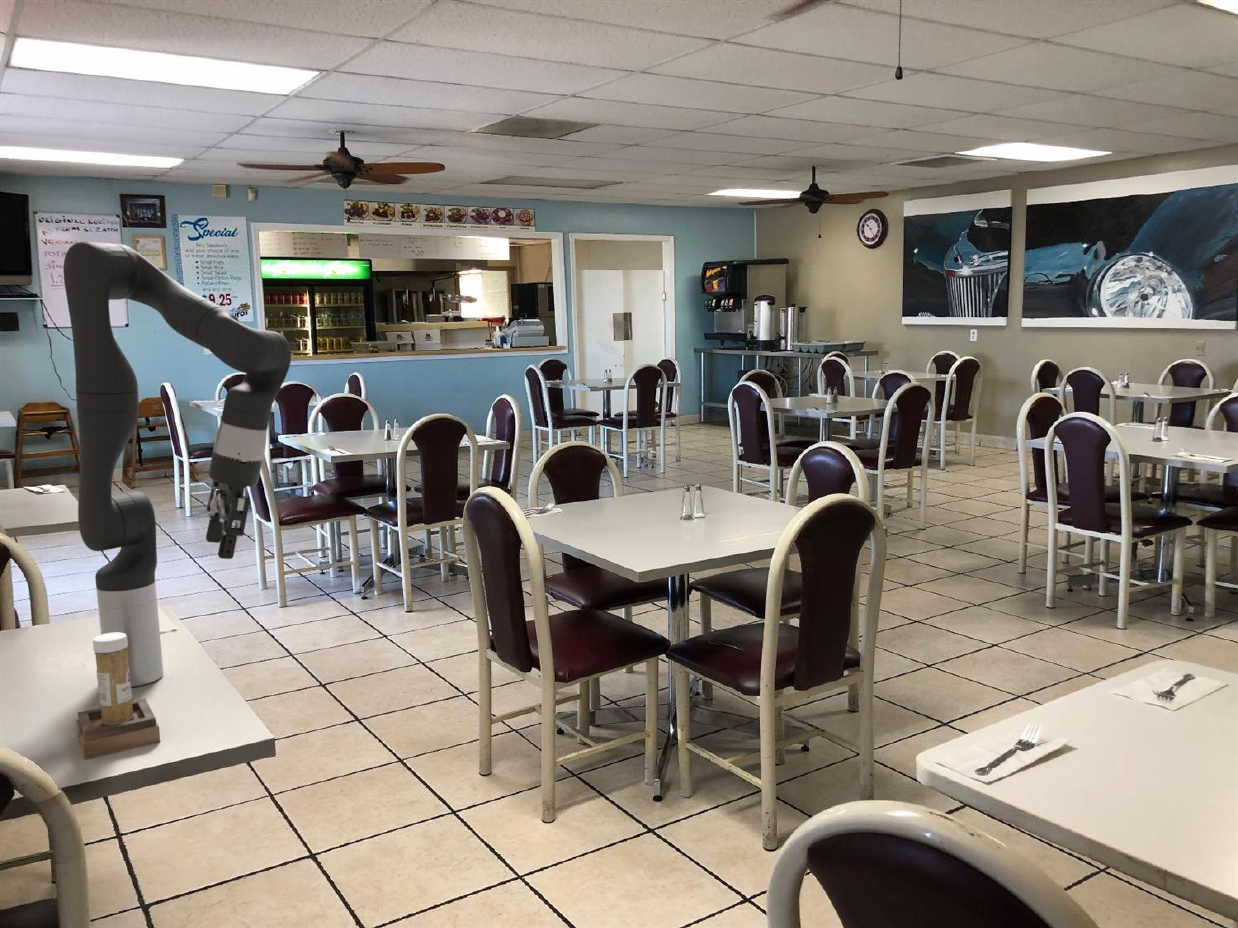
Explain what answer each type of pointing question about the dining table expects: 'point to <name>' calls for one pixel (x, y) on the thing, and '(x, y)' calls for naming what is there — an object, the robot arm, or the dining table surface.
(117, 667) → the sprinkles bottle
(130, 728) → the walnut plinth
